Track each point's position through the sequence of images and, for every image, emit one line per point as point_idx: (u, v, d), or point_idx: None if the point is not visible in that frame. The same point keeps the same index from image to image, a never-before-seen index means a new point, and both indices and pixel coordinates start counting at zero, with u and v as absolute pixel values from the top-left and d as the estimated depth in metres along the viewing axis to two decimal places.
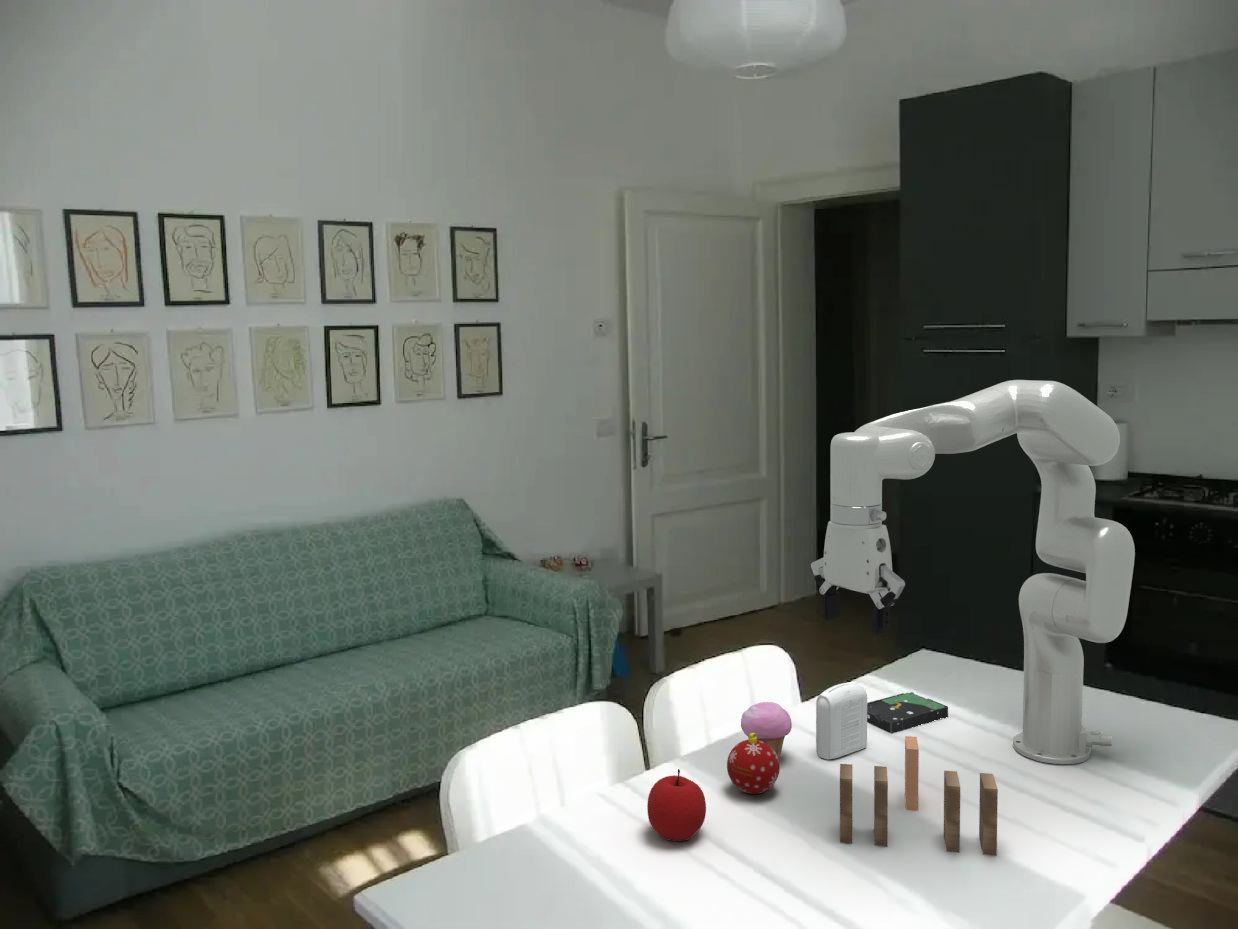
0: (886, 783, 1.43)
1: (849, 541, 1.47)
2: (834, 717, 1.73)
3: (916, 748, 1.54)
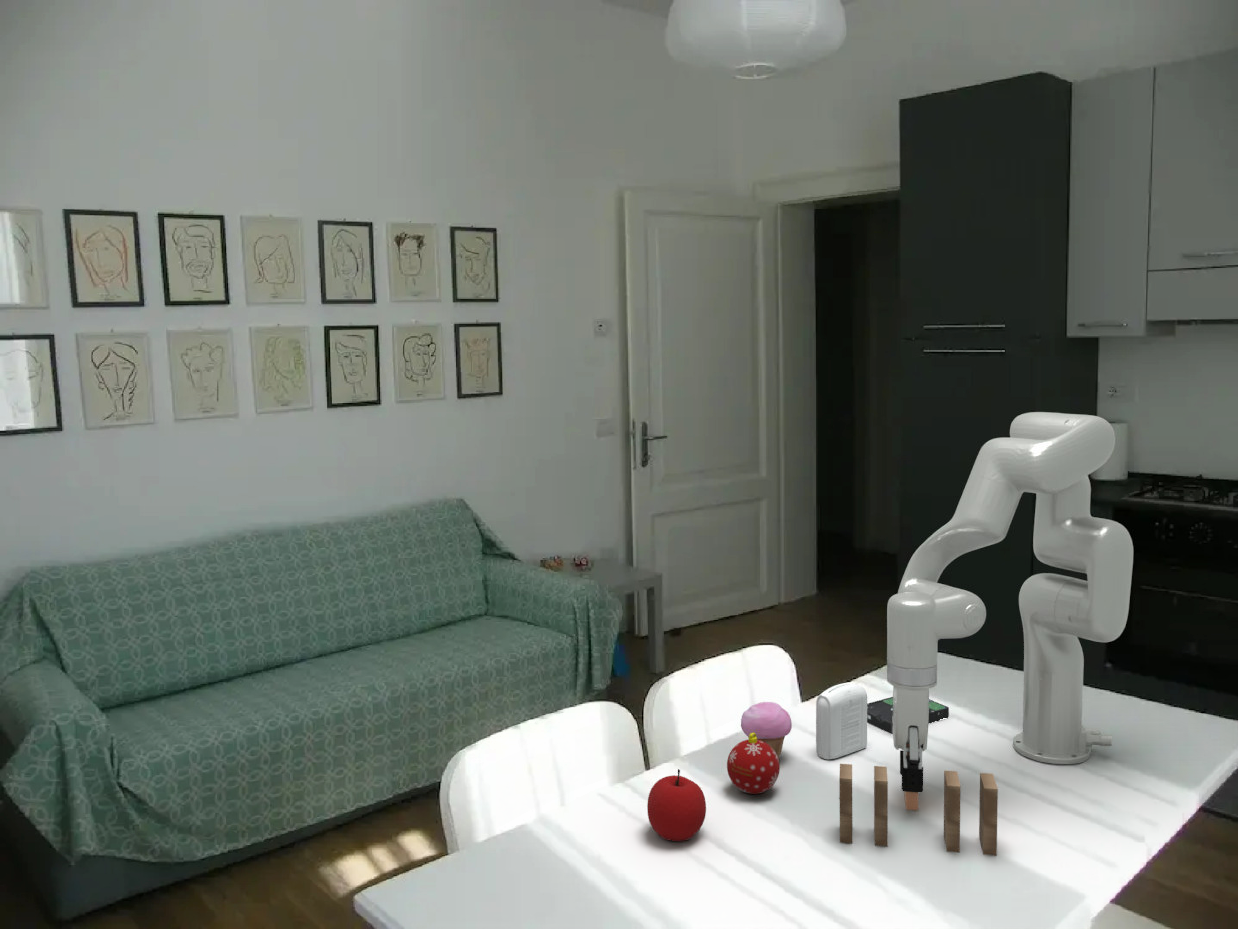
0: (886, 783, 1.43)
1: None
2: (834, 717, 1.73)
3: None
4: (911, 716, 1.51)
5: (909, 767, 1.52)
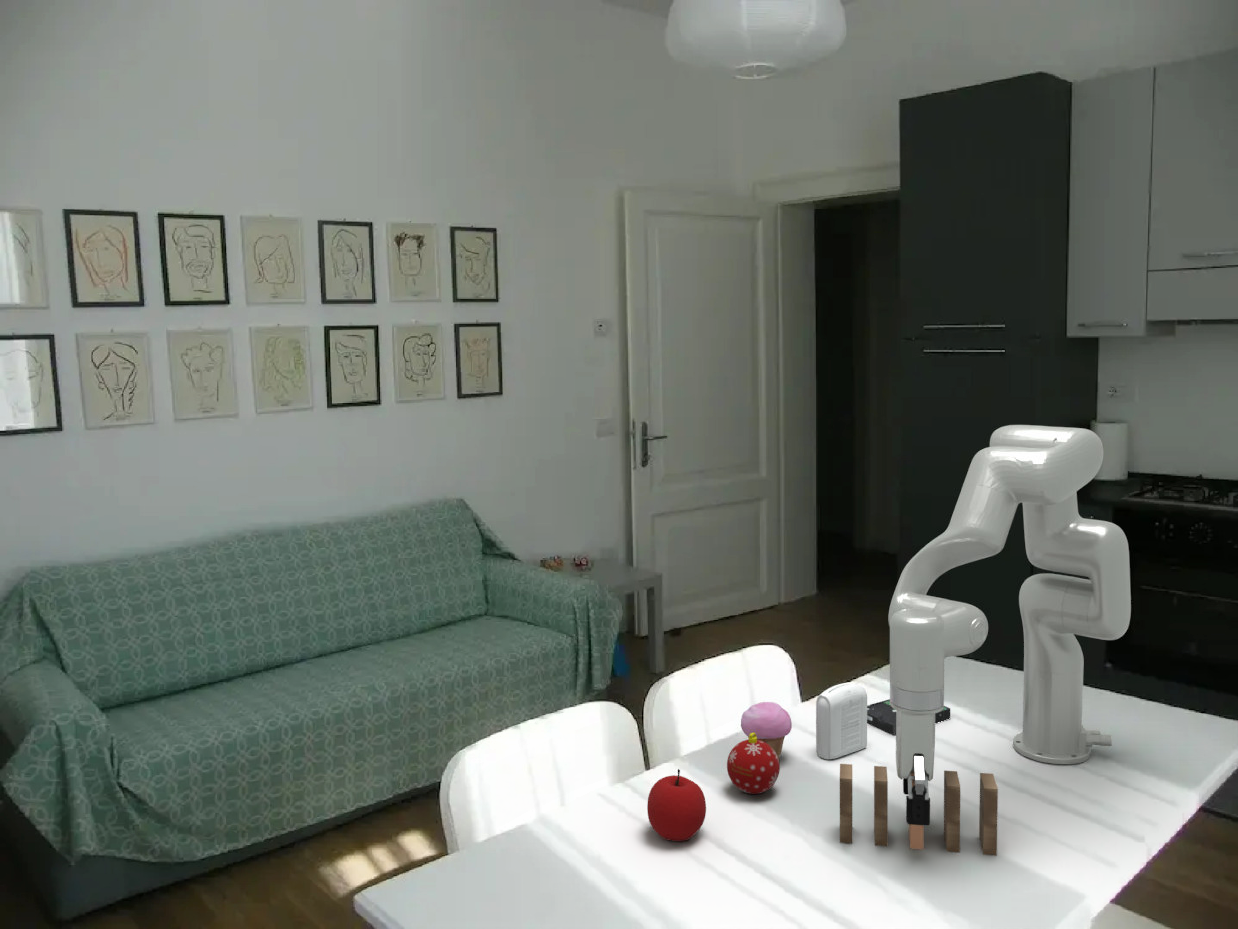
0: (886, 783, 1.43)
1: None
2: (834, 717, 1.73)
3: None
4: (916, 743, 1.39)
5: (915, 798, 1.39)
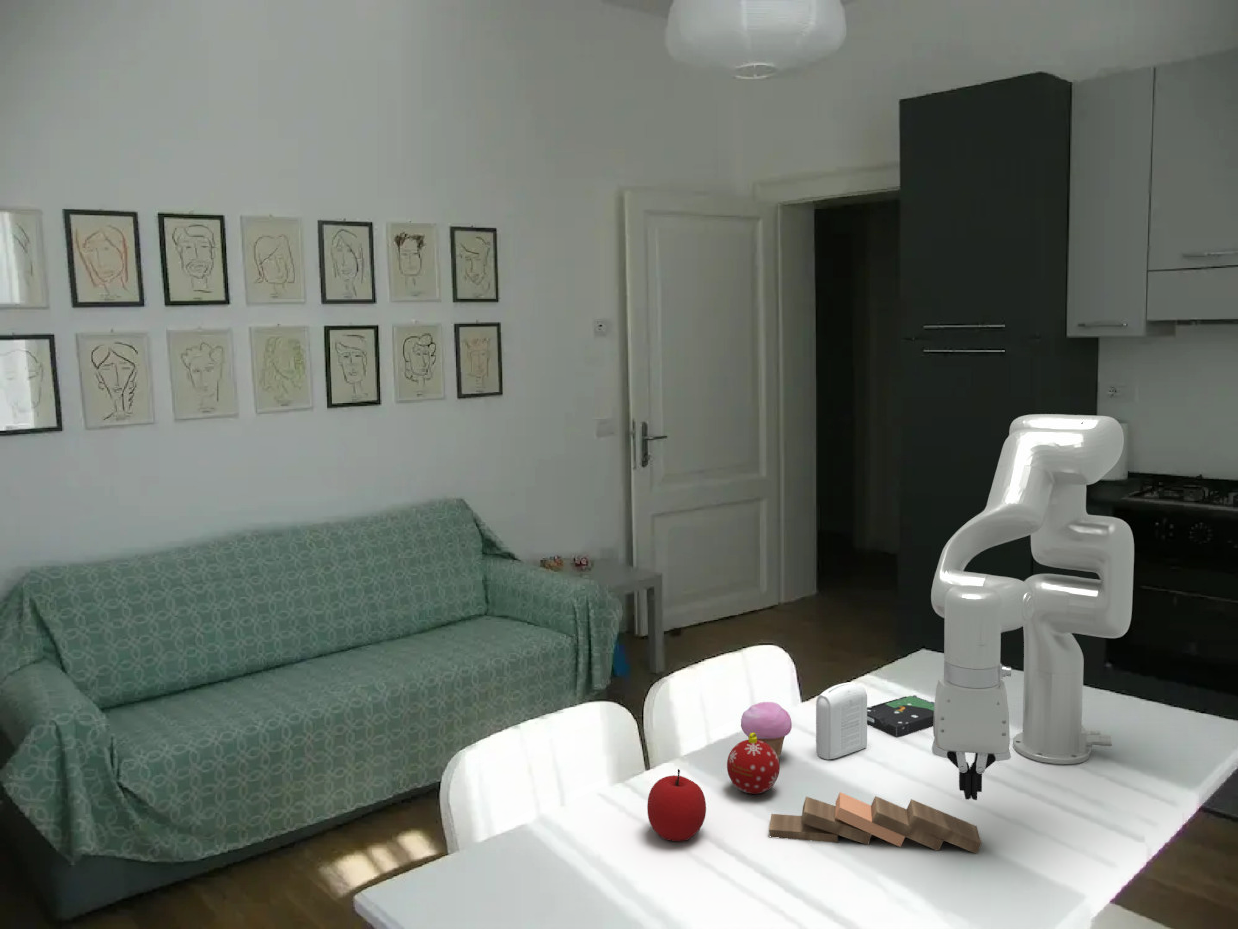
0: (805, 813, 1.47)
1: (980, 704, 1.39)
2: (834, 717, 1.73)
3: (838, 808, 1.46)
4: (934, 705, 1.43)
5: None
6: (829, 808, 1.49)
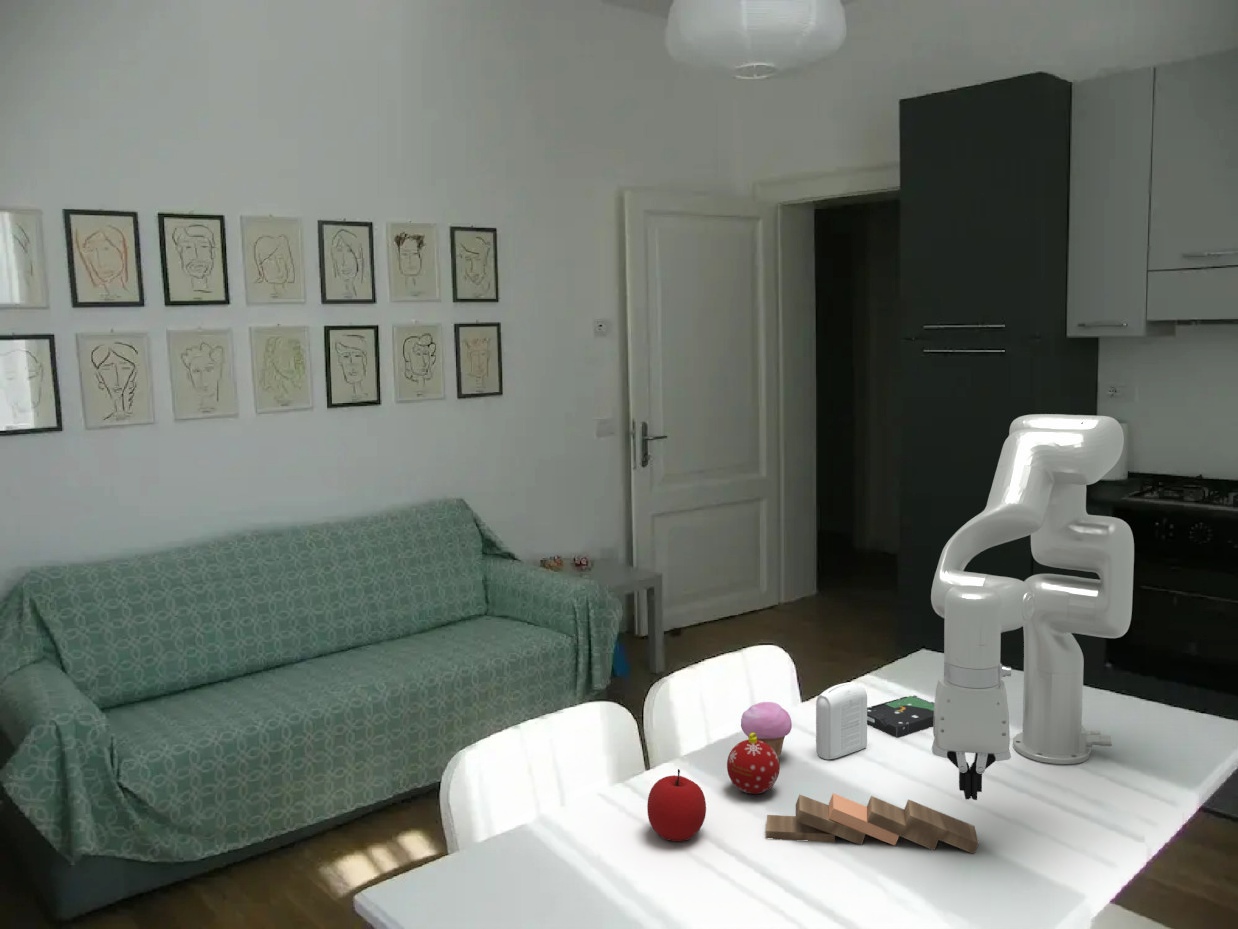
0: (801, 811, 1.46)
1: (980, 704, 1.39)
2: (834, 717, 1.73)
3: (832, 808, 1.46)
4: (934, 705, 1.43)
5: None
6: (822, 807, 1.49)
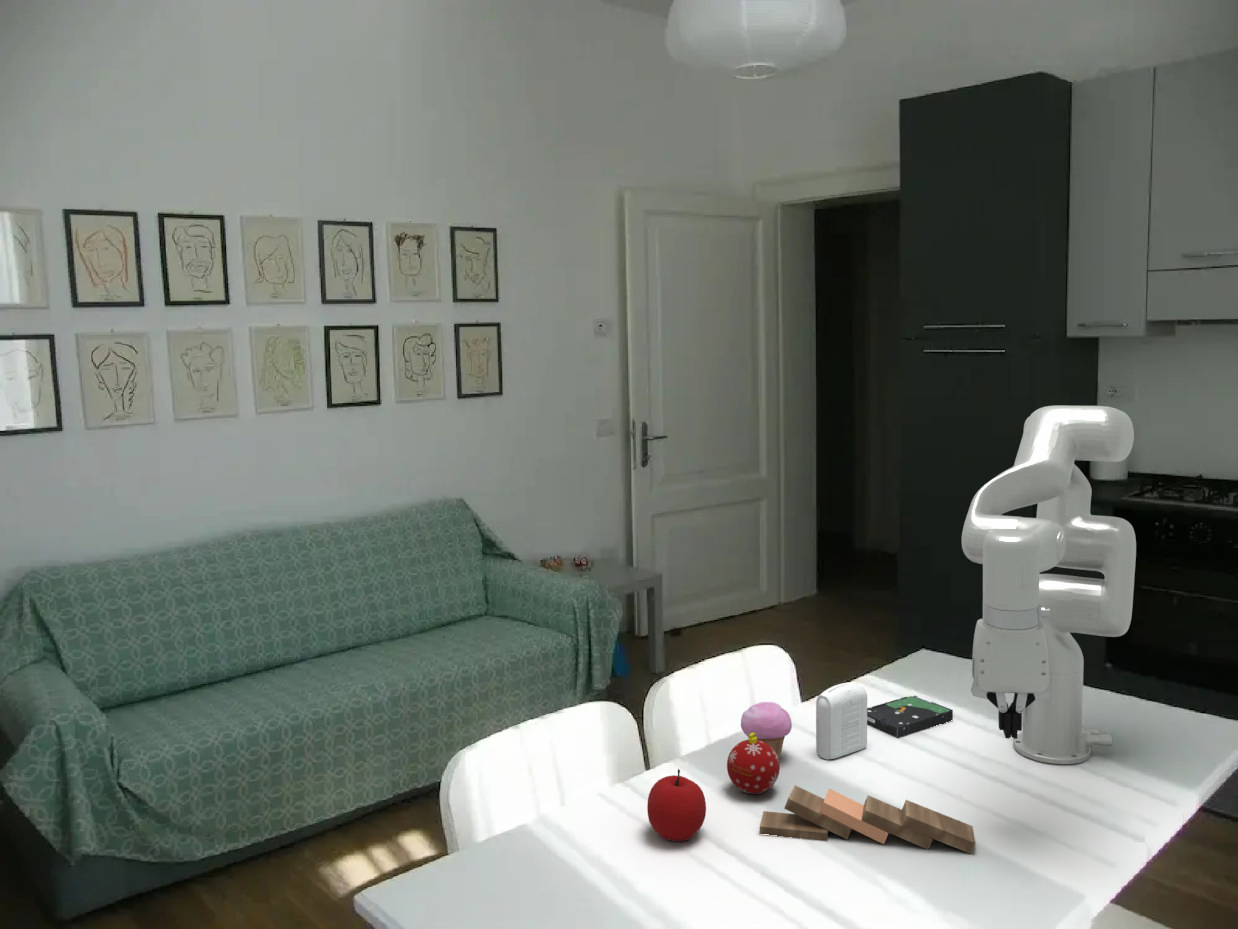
0: (789, 800, 1.49)
1: (1020, 645, 1.40)
2: (834, 717, 1.73)
3: (823, 802, 1.48)
4: (973, 648, 1.44)
5: None
6: (815, 799, 1.51)
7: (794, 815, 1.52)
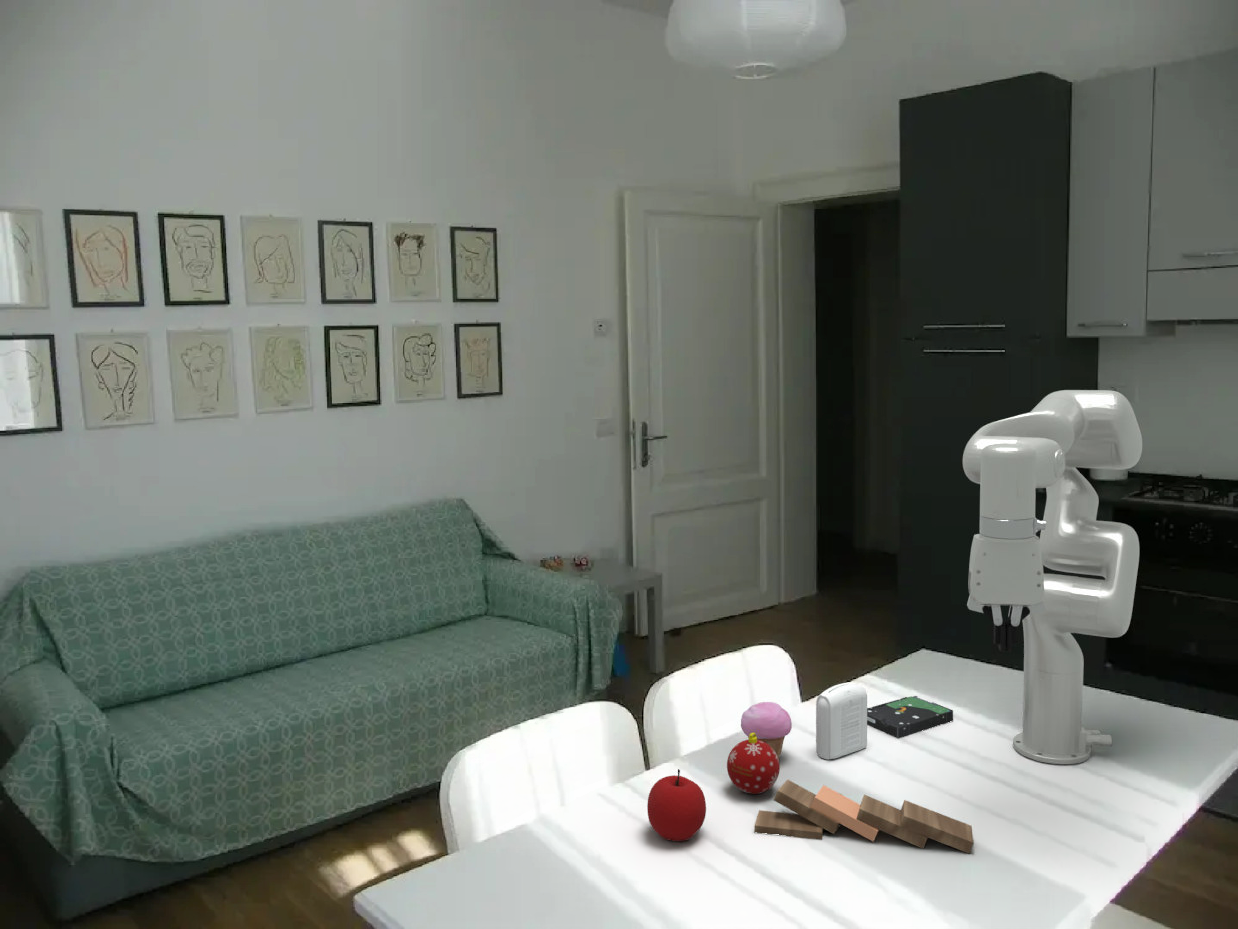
0: (778, 792, 1.51)
1: (1016, 556, 1.43)
2: (834, 717, 1.73)
3: (814, 798, 1.49)
4: (970, 561, 1.47)
5: None
6: (806, 794, 1.53)
7: (790, 814, 1.53)
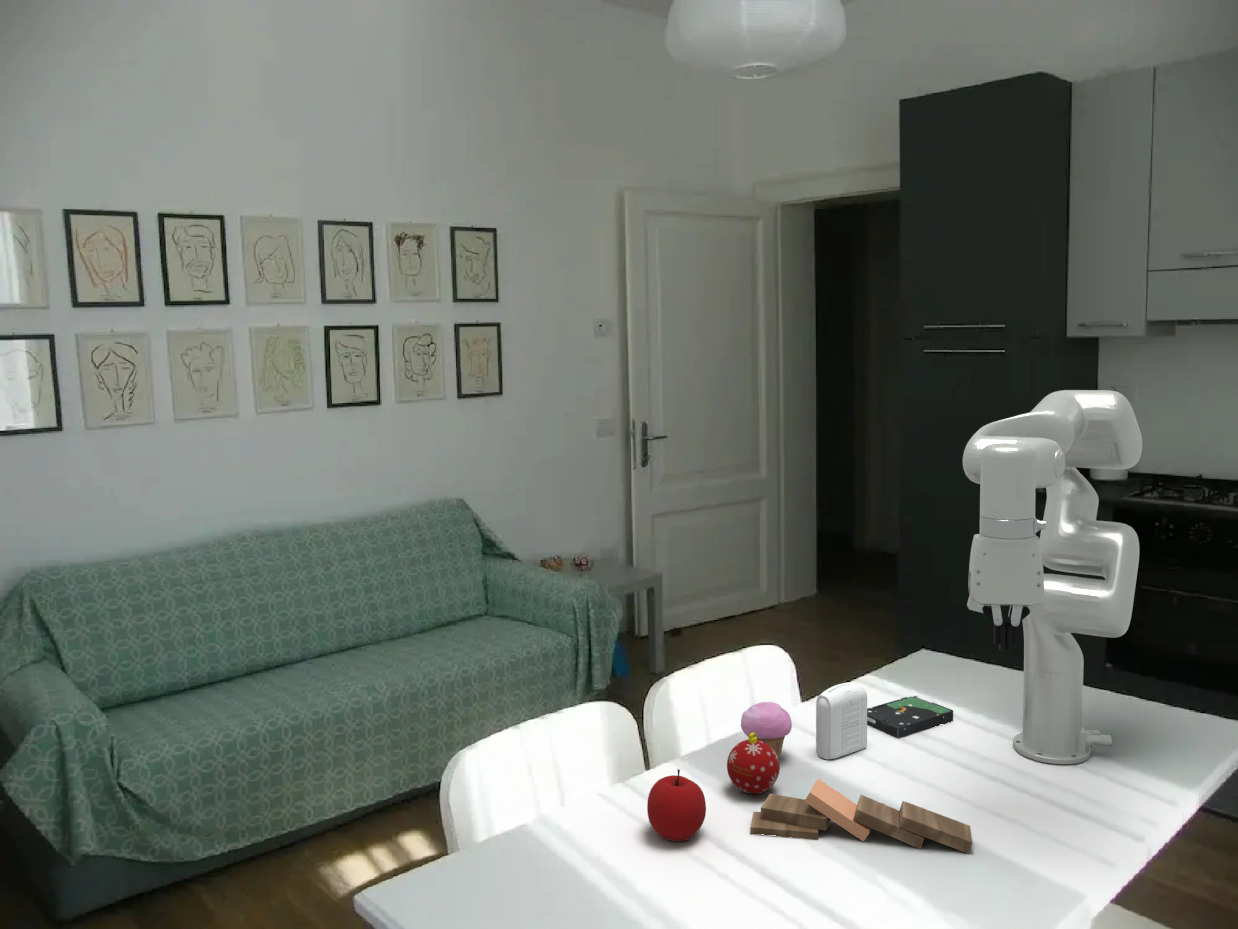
0: (762, 809, 1.51)
1: (1016, 556, 1.43)
2: (834, 717, 1.73)
3: (809, 792, 1.49)
4: (970, 561, 1.47)
5: None
6: (790, 801, 1.53)
7: None
